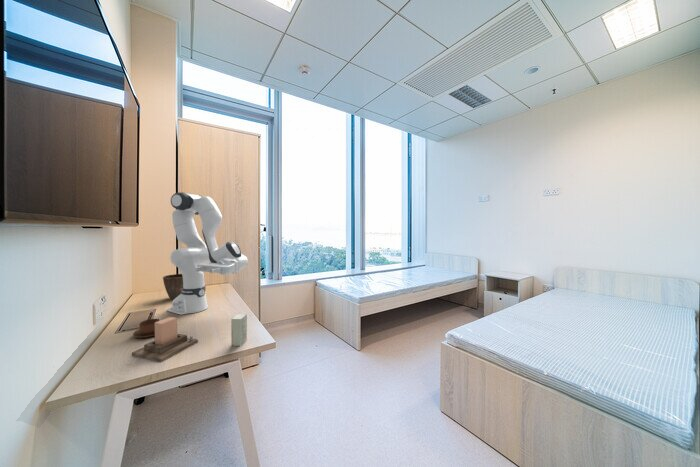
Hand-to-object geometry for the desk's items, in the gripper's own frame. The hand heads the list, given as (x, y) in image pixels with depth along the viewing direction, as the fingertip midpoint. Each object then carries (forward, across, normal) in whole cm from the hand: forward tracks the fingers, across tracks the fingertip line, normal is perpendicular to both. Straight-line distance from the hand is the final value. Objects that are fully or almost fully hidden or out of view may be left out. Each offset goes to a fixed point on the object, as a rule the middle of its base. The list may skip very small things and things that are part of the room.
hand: (203, 270), depth 123 cm
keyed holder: (+21, +3, +29) cm, 36 cm away
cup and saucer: (+13, -18, +30) cm, 38 cm away
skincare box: (+8, +28, +29) cm, 42 cm away
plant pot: (-33, -60, +31) cm, 75 cm away
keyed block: (+21, +2, +28) cm, 35 cm away
